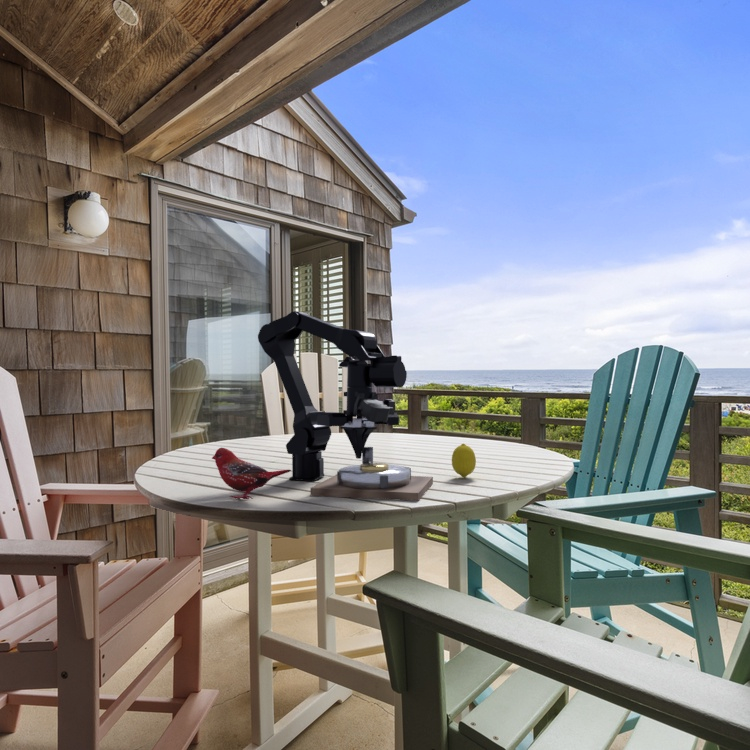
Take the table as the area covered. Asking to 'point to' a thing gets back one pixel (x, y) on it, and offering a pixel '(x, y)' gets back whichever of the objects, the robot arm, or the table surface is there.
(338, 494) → the base plate
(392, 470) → the notched round platform
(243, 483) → the decorative bird figurine
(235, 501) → the table surface
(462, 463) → the lemon
